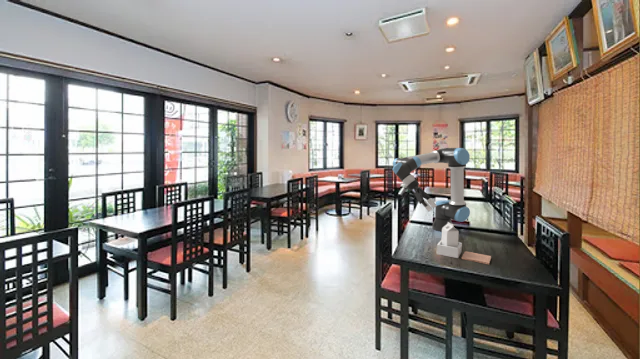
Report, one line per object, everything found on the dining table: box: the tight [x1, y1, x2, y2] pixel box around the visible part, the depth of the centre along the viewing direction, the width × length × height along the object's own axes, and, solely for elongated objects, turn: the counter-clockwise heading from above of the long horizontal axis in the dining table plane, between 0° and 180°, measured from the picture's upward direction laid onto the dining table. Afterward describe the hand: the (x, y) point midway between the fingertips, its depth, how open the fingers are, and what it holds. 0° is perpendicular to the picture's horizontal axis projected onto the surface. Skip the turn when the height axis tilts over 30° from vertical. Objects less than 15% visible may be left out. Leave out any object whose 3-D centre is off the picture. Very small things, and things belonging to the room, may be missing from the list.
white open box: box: [436, 238, 463, 259], centre depth 176 cm, size 12×12×6 cm
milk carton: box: [440, 222, 460, 248], centre depth 176 cm, size 7×7×19 cm
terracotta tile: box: [461, 251, 492, 265], centre depth 168 cm, size 12×14×1 cm
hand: (433, 208), depth 181 cm, fingers open, 13 cm apart
